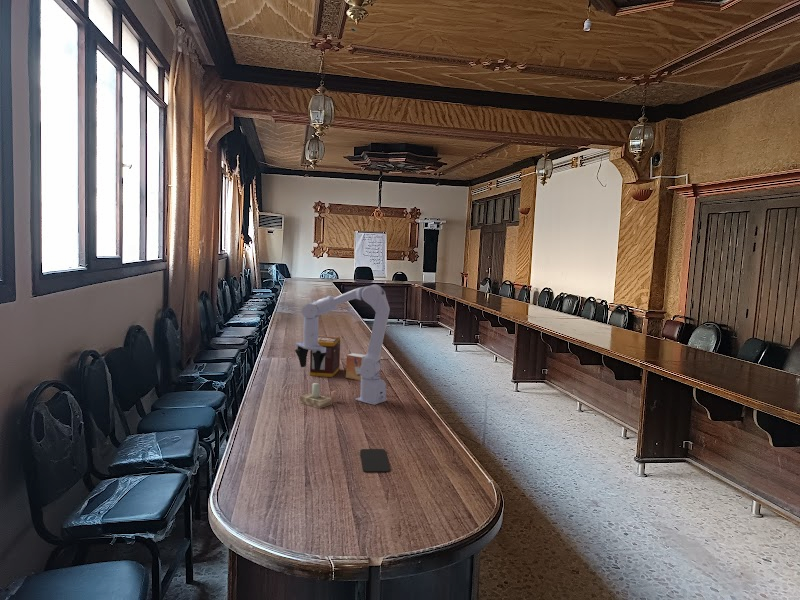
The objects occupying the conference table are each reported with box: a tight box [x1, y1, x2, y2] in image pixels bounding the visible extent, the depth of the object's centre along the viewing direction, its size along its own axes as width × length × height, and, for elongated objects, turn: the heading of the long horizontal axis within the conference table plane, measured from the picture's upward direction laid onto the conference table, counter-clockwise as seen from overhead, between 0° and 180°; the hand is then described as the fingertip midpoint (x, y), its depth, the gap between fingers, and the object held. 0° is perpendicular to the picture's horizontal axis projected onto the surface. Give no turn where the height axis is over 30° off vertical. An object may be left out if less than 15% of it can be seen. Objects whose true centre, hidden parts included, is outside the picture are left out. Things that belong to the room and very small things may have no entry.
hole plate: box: [299, 392, 332, 409], centre depth 200 cm, size 10×6×2 cm, turn 55°
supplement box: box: [309, 335, 341, 378], centre depth 247 cm, size 10×15×16 cm
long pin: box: [311, 382, 321, 399], centre depth 200 cm, size 3×3×8 cm
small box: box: [345, 352, 366, 382], centre depth 239 cm, size 8×6×10 cm
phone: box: [359, 448, 391, 474], centre depth 151 cm, size 7×1×15 cm
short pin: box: [330, 390, 339, 404], centre depth 204 cm, size 3×3×4 cm
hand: (310, 368), depth 211 cm, fingers open, 7 cm apart
